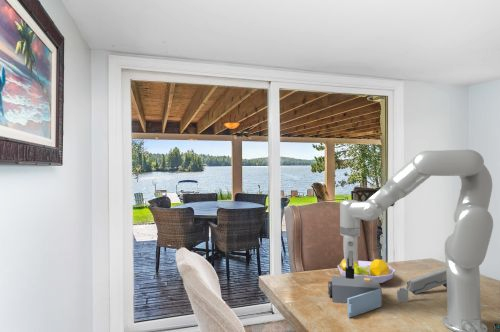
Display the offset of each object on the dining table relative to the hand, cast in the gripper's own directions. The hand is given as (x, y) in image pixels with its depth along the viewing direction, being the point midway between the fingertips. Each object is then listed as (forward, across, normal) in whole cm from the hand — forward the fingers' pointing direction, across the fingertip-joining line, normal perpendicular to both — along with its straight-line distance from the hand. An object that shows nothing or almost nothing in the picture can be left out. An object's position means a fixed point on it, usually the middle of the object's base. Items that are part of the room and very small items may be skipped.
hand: (349, 277), depth 124 cm
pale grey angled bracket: (+12, +12, -23) cm, 29 cm away
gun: (+11, +25, -37) cm, 46 cm away
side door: (+11, -3, -6) cm, 13 cm away
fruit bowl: (+12, +35, -9) cm, 38 cm away
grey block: (+12, +10, -3) cm, 16 cm away
